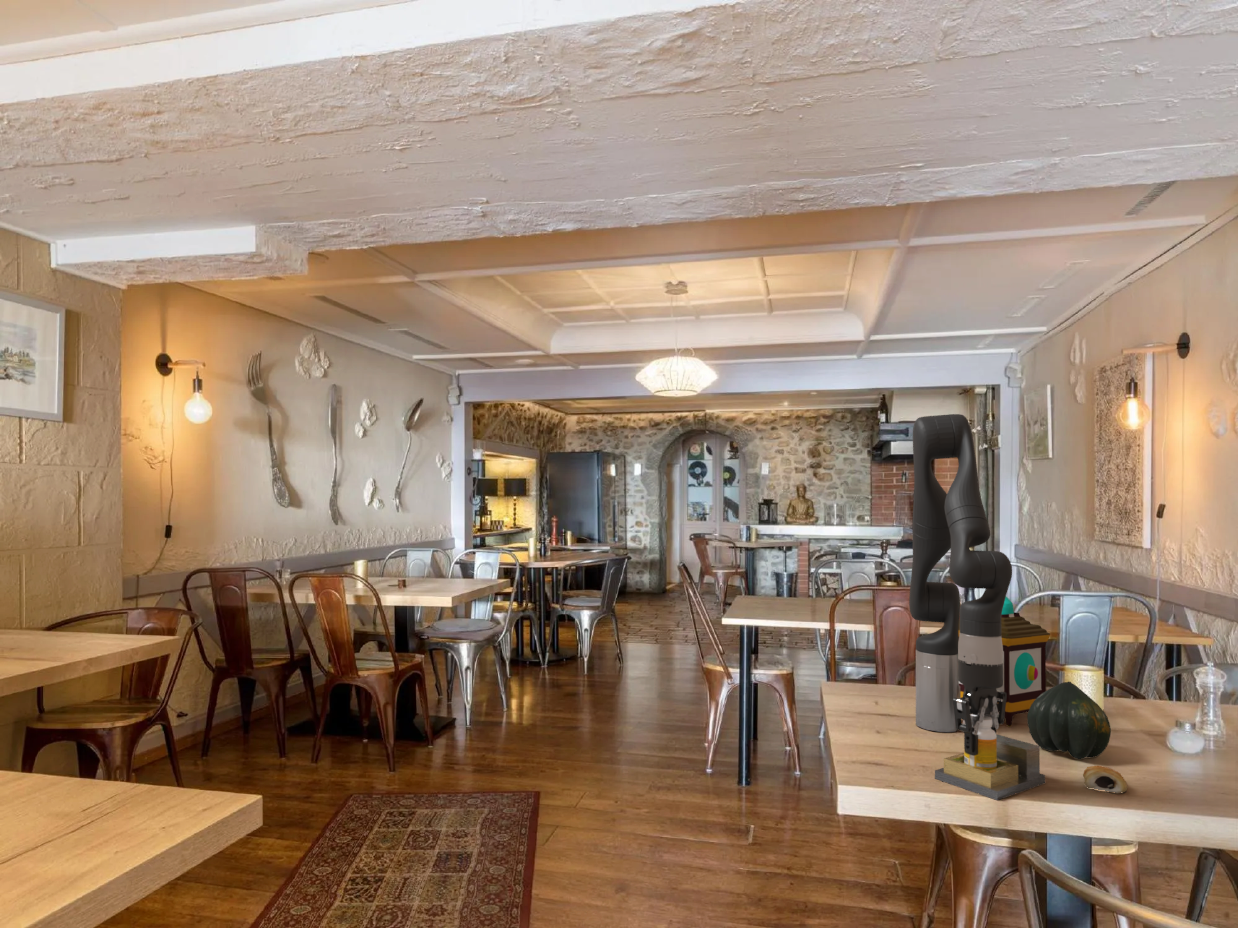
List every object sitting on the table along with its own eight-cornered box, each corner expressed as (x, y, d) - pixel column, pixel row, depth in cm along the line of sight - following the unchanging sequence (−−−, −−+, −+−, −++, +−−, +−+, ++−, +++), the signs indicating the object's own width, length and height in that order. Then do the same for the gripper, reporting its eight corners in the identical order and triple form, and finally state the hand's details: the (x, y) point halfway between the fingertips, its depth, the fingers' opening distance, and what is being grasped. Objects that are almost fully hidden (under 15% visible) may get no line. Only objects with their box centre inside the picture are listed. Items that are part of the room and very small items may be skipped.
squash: (1059, 739, 148) (1096, 679, 152) (1001, 721, 162) (1037, 666, 166) (1104, 785, 150) (1140, 724, 154) (1043, 763, 164) (1077, 708, 168)
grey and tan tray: (983, 763, 149) (983, 730, 149) (1045, 783, 139) (1045, 747, 139) (934, 778, 140) (934, 742, 141) (997, 800, 130) (997, 761, 131)
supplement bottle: (1002, 772, 137) (1002, 718, 138) (985, 777, 135) (985, 722, 135) (975, 763, 142) (975, 711, 142) (958, 768, 139) (958, 715, 140)
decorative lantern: (1011, 730, 173) (1010, 598, 175) (937, 708, 190) (937, 589, 192) (1062, 719, 183) (1061, 595, 184) (987, 700, 200) (987, 586, 202)
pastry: (1081, 774, 145) (1081, 754, 145) (1123, 781, 142) (1122, 761, 142) (1084, 790, 137) (1084, 769, 137) (1129, 798, 133) (1129, 776, 134)
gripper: (982, 651, 146) (982, 739, 146) (938, 658, 138) (938, 751, 138) (1021, 658, 140) (1021, 750, 139) (977, 666, 132) (977, 764, 131)
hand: (980, 750), depth 138 cm, fingers closed on supplement bottle, 5 cm apart
